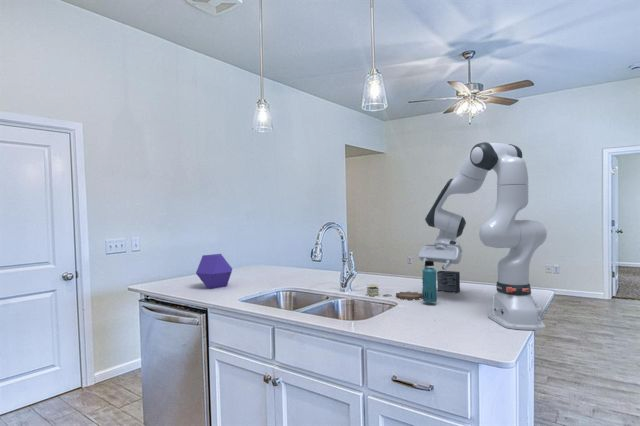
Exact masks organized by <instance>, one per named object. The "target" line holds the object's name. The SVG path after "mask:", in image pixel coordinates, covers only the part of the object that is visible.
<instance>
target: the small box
mask: <svg viewBox="0 0 640 426" xmlns="http://www.w3.org/2000/svg"><path fill="white" fill-rule="evenodd" d="M460 273H461V272H460V271H455V270H454V271H453V270H452V271H451V270H438V271H436V285H437V289H436V291H437V292H440V291H444V292H443V293H452V292H455V293H454V294H458V293H460V292H461V285H460V284H461V282H460V279H461V276H460Z"/></svg>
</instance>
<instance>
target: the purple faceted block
mask: <svg viewBox="0 0 640 426" xmlns="http://www.w3.org/2000/svg"><path fill="white" fill-rule="evenodd" d="M196 269H197V270H196V275H197V277H198V278H199V279H200V281H201V282H202V283H203V285H205V287H206V289H208V290H211V289H212V290H213V289H219V288H224V287H228V283H229V281H230V279H231V275H232V271H233V268H232V266H231V265H230V264H229V262H228V261H227V259H226V258H225V257H224V256H223V254H222V253H215V254H204V255H203V254H202V256H201V259H200V262H199V264H198V267H197V268H196Z"/></svg>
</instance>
